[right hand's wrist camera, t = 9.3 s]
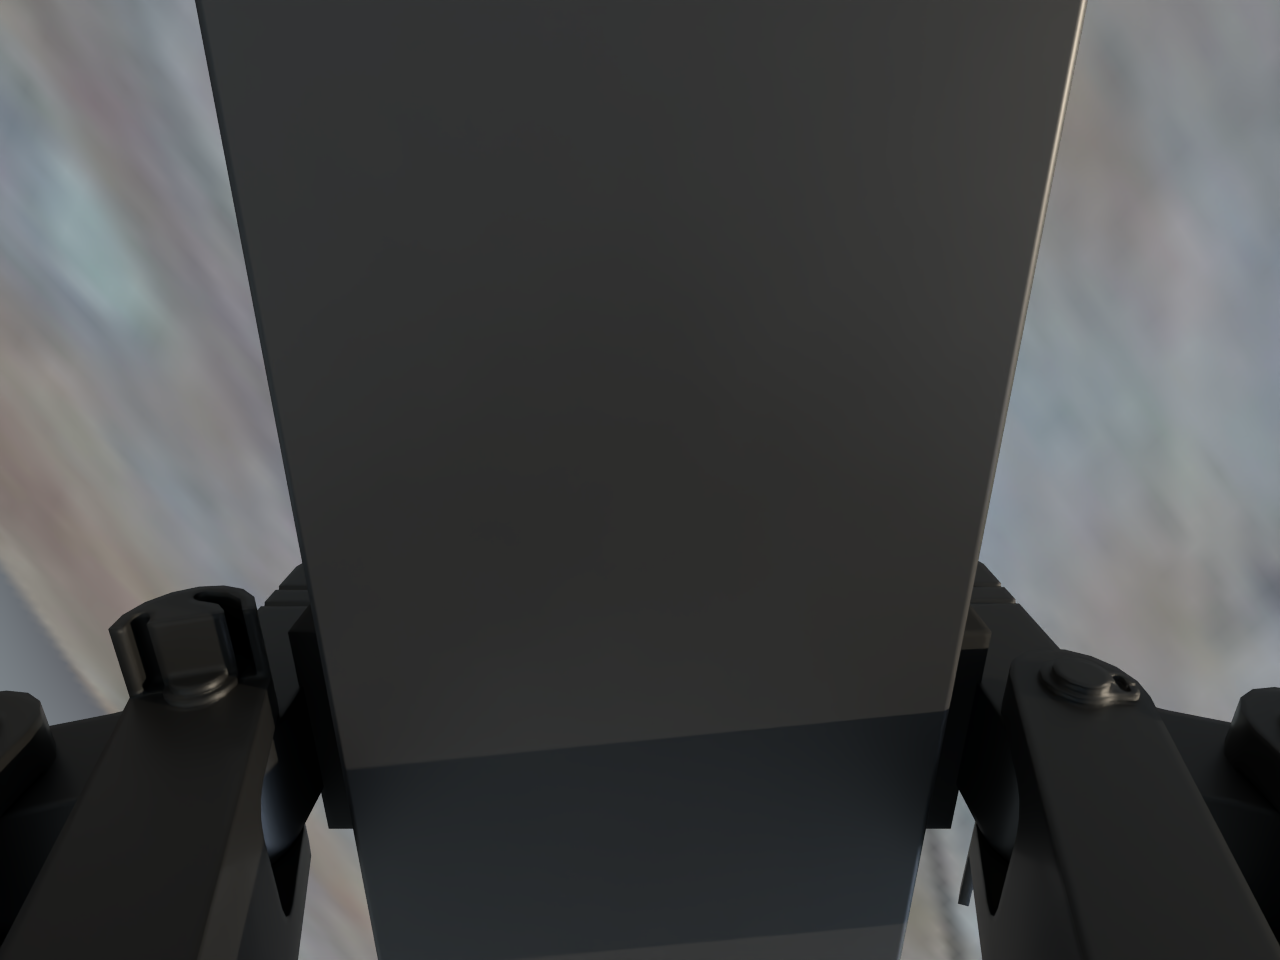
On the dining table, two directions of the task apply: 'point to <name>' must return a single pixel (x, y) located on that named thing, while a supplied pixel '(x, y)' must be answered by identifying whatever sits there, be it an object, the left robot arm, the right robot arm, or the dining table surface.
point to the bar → (640, 438)
